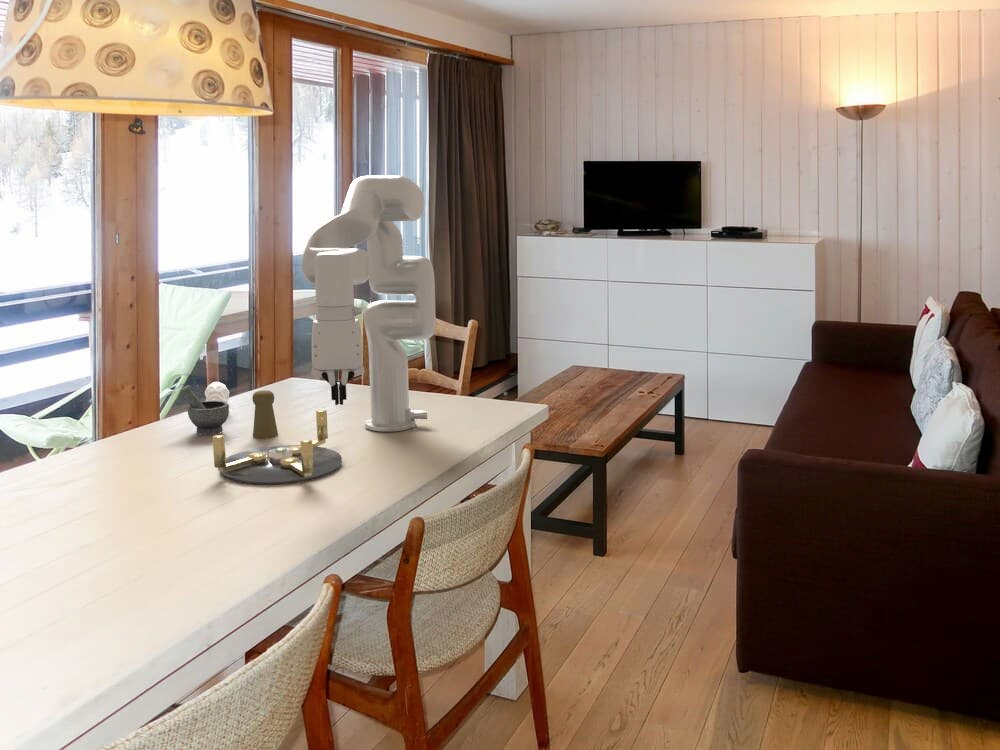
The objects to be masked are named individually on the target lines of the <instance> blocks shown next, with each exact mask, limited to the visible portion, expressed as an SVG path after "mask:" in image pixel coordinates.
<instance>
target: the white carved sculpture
mask: <svg viewBox="0 0 1000 750" xmlns="http://www.w3.org/2000/svg"><path fill="white" fill-rule="evenodd" d="M204 396H205V401H223V402H227V403H228V401H229V400H230V390H229V389H228V388H227V386H226V384H224V383H222V382H220V381H213V382H212V383H209V384H208V385H207V387H206V388H205V391H204Z"/></svg>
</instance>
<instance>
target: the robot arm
mask: <svg viewBox="0 0 1000 750" xmlns="http://www.w3.org/2000/svg"><path fill="white" fill-rule="evenodd" d="M424 210H425V198H424V194H423V192H422V190H421V187H420V186H419V185H418V184H416V183H415V182H414V181H413V180H411V179H410V178H408V177H406V176H404V175H403V176H402V175H364V176H359V177H357V178H355V179H354V180H353V181H352V182H351V183H350V185H349V188H348V190H347V193H346V196H345V198H344V202H343V205H342V207H341V210H340V213H339V214H338V215H336V216H334V217H332V218H331V219H329V220H328V221H327V222H325V223H324V224H322V225H321V226H318V228H316V229H315V230H314V231H313V232H312V233H311V235H310V236H309V239H308V241H307V244H306V246H305V249H304V251H303V255H302V259H301V273H302V275H303V277H304V279H305V280H306V281H307V282H308V283H310V284H312V285H315V287H314V288H315V307H316V308H315V309H316V312H315V313H316V320H315V319H314V320H313V322H312V329H311V365H312V367H311V371H310V375H311V376H313V377H317V378H322V379H324V380H325V382H327V383H328V385H330V391H331V393H330V394H331V401H334V405H335V406H338V405H340V406H343V405H344V400H345V401H347V384H348V383H349V382H350V381H351V380H352V379H353V378H354V377H358V376H361V375H363V374H365V372H366V371H365V366H364V363H363V362H364V352H363V350H364V349H363V338H362V337H363V336H362V331H361V324H360V321H359V319H358V318H356V316H358V315H362V314H363V323H364V329H365V334H366V338H367V347H368V348H367V349H368V363H369V364H368V365H369V390H370V391H369V392H370V393H369V394H370V396H369V398H370V413H371V414H370V417H371V418H369V419H367V420H366V421H365V423H364V426H365V428H366V429H367V430H370V431H374V432H382V433H383V432H384V433H387V432H388V433H389V432H390V433H392V432H400V431H407V430H410V429H413V428H415V426H417V425H416V423H417V421H416V420H428V411H424V410H414V409H412V408H411V407H412V405H411V404H410V397H409V395H410V393H409V362H408V361H409V359H408V355H407V352H406V350H405V348H404V347H403V345H401V344H400V342H399V340H400V341H401V340H427V339H431V337H433V335H434V334H435V330H436V321H437V320H436V316H437V315H436V288H435V287H436V286H435V284H436V283H435V271H434V266H433V264H432V262H431V260H430V259H429V258H428V257H425V256H421V255H405V254H404V251H403V249H404V248H403V235H402V232H401V231H400V228H398V226H397V224H396V223H395V222H416V221H418V220H420V218H421V217H422V215H423V212H424ZM365 242H366V247H367V250H365V249H363V248H359V247H354V246H358V245H360V244H363V243H365ZM367 281H368V284H369V288H370V291H372V292H373V293H374V294H377V295H382V296H412V297H414V299H415V300H400V299H398V300H397V299H395V300H393V299H389V300H387V299H386V300H376V301H373V302H371V303H369V304H367V306H365V308H364V311H363V310H362V307H358V306H356V305H355V289H354V288H355V287H354V286H355V285H356V286H357V285H363V284H365V283H366V282H367ZM362 311H363V312H362ZM334 371H336V372H337V371H341V372H342V373H341V378H340V380H339V383H338V380H336V376H335V372H334Z"/></svg>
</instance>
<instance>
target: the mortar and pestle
mask: <svg viewBox="0 0 1000 750" xmlns="http://www.w3.org/2000/svg"><path fill="white" fill-rule="evenodd" d="M179 392H180V394H181V395H183V397H184V398H185V399H186V400H185V401H187V403H188V405H187V406H186V408H187V409H186V410H187V415H188V418H189V420H190V422H191V423H192V424H193V426H195V427H196V434H197V433H198V434H201V435H200V436H204V435H206V436H214V435H213V434H216V435H219V434H218V433H220V432H222V431H224V430H223V425H224V423H226V421H227V419H228V417H229V414H230V404H229V403H228V402H223V401H206V400H203V401H201V400H200V399H199V397H198V396H197V395H196V394H195V392H194V391H193V390H192V386H191V385H189V384H188V385H186V386H184V387H182V388H181V389H180V391H179ZM222 433H223V432H222ZM198 434H197V435H198ZM220 434H221V433H220Z"/></svg>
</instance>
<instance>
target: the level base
mask: <svg viewBox="0 0 1000 750" xmlns="http://www.w3.org/2000/svg"><path fill="white" fill-rule="evenodd" d="M295 446H301V444H300V445H299V444H287V445H284V444H283V445H271V446H265V447H264V446H263V447H258V448H252V449H249V450H247V449H246V450H243V451H240V452H236V453H234V454H232V455H229V456H227V457H226V464H227V463H231V462H234V461H237V460H241V459H244V458H248V455H249V454H252V453H266V454H267V461H265V462H262V463H250V464H247V465H243V466H240V467H237V468H234V469H230V470H227V471H224V472H223V471H219V474H220V475H221V476H222V478H224V479H226V480H227V481H228V480H229V481H231V482H234V483H239V484H244V483H245V484H246V485H255V486H258V485H259V486H264V485H265V486H274V485H275V486H278V485H287V484H288V485H290V484H297V482H299V483H304V482H308V481H309V480H310V481H313V479H314V480H318V479H320V477H321V478H325V477H327V476H329V475H332V474H334V473H336V472H337V471H338V470H339V469H340V468H341V467H342V465H343V460H342V458H343V457H342V455H341V454H340V453H339V452H338V451H336V450H333V449H331V448H327V447H321V446H317V447H314V448H313V463H314V472H312V476H307V477H304V476H302V475H301V474H299V473H298V472H296V471H294V470H293V469H291V468H282V467H281V466H280V460H281V459H283V458H288V457H293V451H292V449H290V448H289V447H295ZM295 458H299V464H300V465H302V462H301V456H296V457H295ZM336 470H337V471H336ZM331 473H332V474H331ZM328 474H329V475H328ZM326 475H327V476H326ZM317 478H318V479H317Z"/></svg>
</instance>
